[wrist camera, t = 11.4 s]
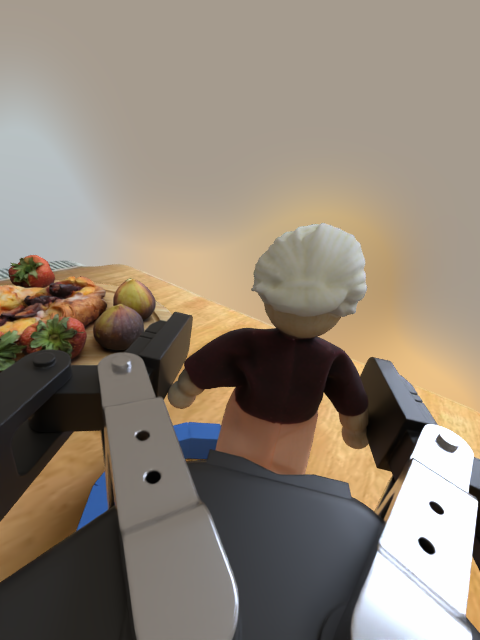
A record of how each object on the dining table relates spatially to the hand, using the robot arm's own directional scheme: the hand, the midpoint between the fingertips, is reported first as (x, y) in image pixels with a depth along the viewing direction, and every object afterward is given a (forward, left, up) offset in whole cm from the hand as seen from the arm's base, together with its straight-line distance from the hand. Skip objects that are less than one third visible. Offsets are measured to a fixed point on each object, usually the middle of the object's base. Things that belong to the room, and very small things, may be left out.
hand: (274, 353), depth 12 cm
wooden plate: (-29, +15, -18) cm, 37 cm away
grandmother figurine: (0, -2, -7) cm, 7 cm away
